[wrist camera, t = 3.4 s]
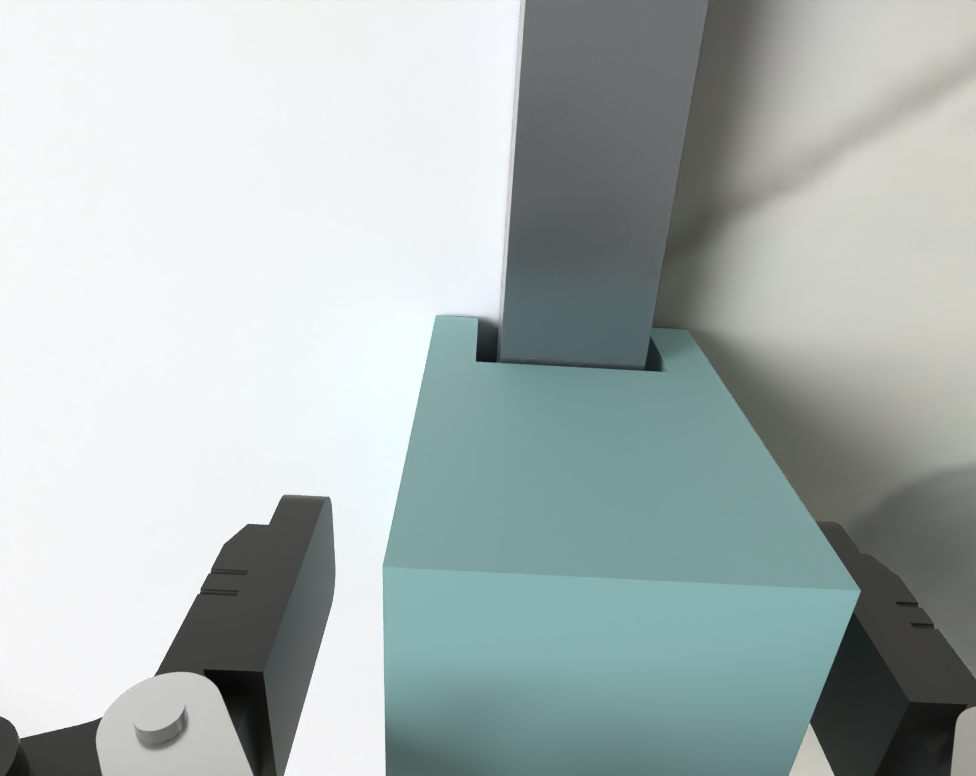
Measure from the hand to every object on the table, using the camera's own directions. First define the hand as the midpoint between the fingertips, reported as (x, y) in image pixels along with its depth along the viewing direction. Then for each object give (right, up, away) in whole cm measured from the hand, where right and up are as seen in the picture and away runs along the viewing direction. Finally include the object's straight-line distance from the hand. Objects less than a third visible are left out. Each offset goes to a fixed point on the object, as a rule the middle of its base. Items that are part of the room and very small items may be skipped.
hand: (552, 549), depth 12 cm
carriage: (0, +1, +3) cm, 3 cm away
